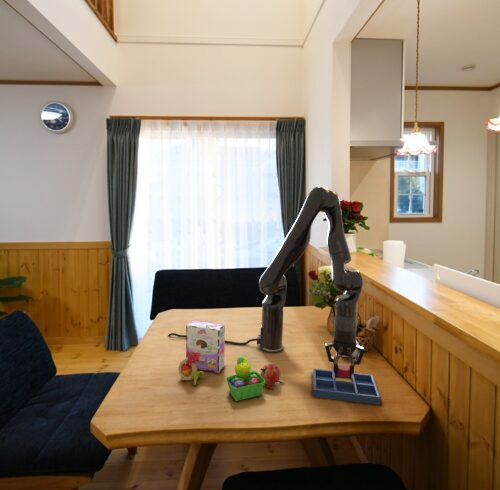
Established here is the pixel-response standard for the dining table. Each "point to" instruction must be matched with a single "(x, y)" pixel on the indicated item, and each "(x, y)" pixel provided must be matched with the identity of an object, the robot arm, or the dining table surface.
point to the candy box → (206, 344)
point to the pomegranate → (270, 375)
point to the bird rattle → (190, 367)
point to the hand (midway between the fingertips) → (343, 373)
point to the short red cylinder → (343, 371)
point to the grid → (345, 387)
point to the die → (354, 351)
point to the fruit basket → (245, 381)
